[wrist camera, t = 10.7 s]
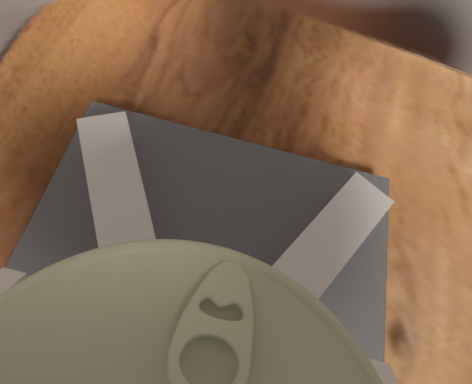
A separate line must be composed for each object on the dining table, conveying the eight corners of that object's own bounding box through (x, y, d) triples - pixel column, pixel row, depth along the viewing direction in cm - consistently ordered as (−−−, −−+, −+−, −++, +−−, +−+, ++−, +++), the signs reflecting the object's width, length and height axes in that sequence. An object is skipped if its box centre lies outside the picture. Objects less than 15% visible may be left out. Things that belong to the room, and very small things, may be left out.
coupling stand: (377, 189, 25) (410, 157, 22) (357, 654, 15) (413, 737, 12) (96, 116, 25) (82, 71, 21) (-118, 545, 15) (-211, 596, 11)
